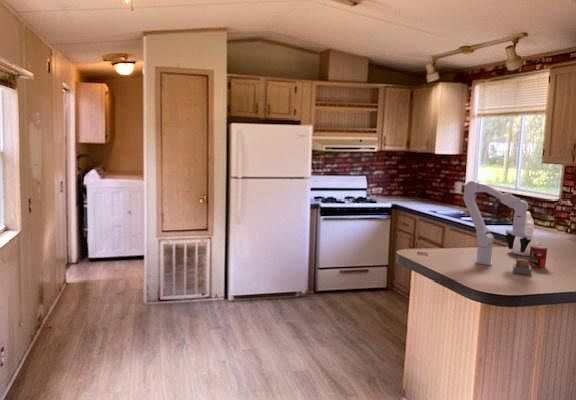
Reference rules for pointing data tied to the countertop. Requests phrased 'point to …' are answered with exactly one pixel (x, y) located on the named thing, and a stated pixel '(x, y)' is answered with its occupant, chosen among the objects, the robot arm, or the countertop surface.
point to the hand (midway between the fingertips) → (516, 250)
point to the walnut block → (522, 263)
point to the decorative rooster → (528, 230)
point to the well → (522, 270)
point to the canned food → (537, 256)
